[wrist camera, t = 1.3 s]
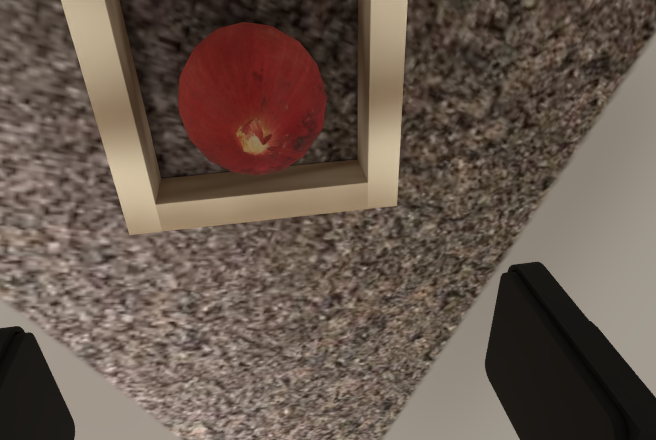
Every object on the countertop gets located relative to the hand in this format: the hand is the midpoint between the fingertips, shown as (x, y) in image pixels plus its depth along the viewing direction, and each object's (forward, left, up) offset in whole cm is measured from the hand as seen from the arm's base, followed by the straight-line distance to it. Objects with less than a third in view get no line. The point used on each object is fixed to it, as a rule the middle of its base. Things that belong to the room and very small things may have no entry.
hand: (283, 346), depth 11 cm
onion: (0, 0, -17) cm, 17 cm away
